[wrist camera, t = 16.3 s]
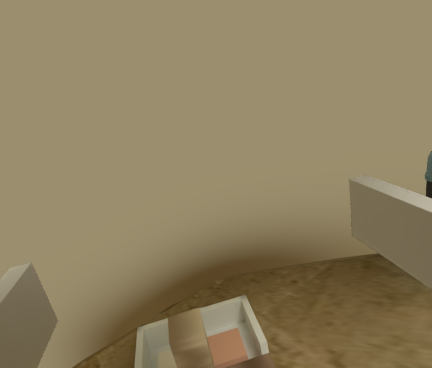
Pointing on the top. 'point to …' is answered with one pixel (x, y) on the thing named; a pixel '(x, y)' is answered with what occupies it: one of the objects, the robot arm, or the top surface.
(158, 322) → the tray
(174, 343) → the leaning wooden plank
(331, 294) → the top surface
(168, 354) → the tile cream
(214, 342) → the tile terracotta
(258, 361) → the board
